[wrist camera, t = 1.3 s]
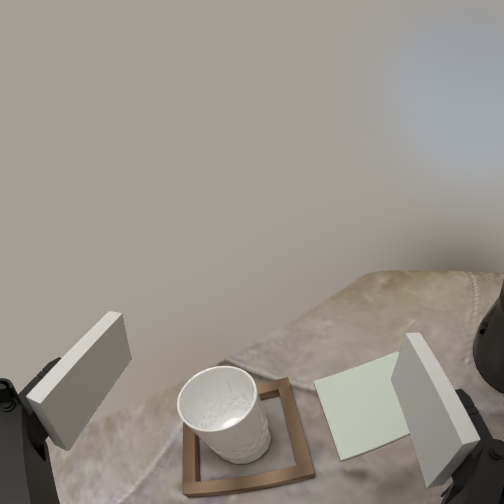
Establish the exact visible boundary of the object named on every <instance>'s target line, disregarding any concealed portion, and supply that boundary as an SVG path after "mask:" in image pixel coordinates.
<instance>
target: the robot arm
mask: <svg viewBox="0 0 504 504" xmlns="http://www.w3.org/2000/svg"><path fill="white" fill-rule="evenodd" d="M473 353H474V359H475V363H476V365H477V368H478V370H479V371H480V373H481V374H482V376H483V377H484V378H485V380H486V381H487V382H488V383H489V384H490V385H492V386H493V387H494V388H496V389H497V390H499V391H501V392H503V393H504V281H503V285H502V289H501V293H500V296H499V297H498V299H497V300H496V302H495V303H494V305H493V306H492V307H491V309H490V310H489V312H488V313H487V314H486V316H485V317H484V318H483V320H482V322H481V323H480V325H479V328H478V331H477V334H476V337H475V340H474V345H473ZM131 360H132V358H131V353H130V349H129V345H128V340H127V335H126V330H125V325H124V320H123V314H122V313H117V312H110V311H109V312H108V313H107V314H106V315H105V316H104V317H103V318H102V319H101V320H100V321H99V322H98V323H97V324H96V325H95V326H94V327H93V328H92V329H91V330H90V331H89V332H88V333H87V334H86V335H85V336H84V337H83V338H81V340H80V341H78V342H77V343H76V344H75V346H74V347H73V348H72V349H71V350H70V351H69V352H68V353H67V354H66V355H65V356H64V357H63V358H59V357H58V358H57V359H55V360H53V361H51V362H49V363H48V364H47V365H46V366H45V367H44V368H43V370H42V371H40V372H39V374H38V375H37V377H35V378H34V379H33V380H32V381H31V382H30V383H29V384H28V385H27V386H26V387H25V388H24V389H23V390H22V391H21V392H20V393H19V394H17V392H16V390H15V388H14V386H13V384H12V383H11V381H10V380H8V379H5V378H0V504H60V502H59V499H58V495H57V491H56V486H55V482H54V477H53V473H52V468H51V462H50V457H49V451H48V445H47V443H46V441H45V440H46V438H47V437H48V436H49V437H50V439H51V440H52V442H53V443H54V445H56V446H58V447H60V448H62V449H64V450H67V451H69V450H70V449H71V447H72V446H73V444H74V443H75V441H76V439H77V438H78V436H79V435H80V433H81V432H82V430H83V429H84V427H85V426H86V425H87V423H88V422H89V420H90V418H91V417H92V416H93V414H94V413H95V411H96V409H97V408H98V407H99V405H100V404H101V402H102V401H103V400H104V398H105V397H106V395H107V394H108V392H109V391H110V389H111V388H112V387H113V385H114V384H115V382H116V381H117V379H118V378H119V377H120V375H121V374H122V372H123V371H124V369H125V368H126V367H127V365H128V364H129V362H130V361H131ZM391 382H392V384H393V387H394V390H395V392H396V395H397V398H398V401H399V403H400V406H401V409H402V412H403V415H404V418H405V420H406V423H407V426H408V429H409V432H410V435H411V438H412V441H413V444H414V448H415V451H416V454H417V457H418V460H419V464H420V467H421V470H422V474H423V477H424V481H425V484H426V488H430V487H434V486H437V485H441V484H444V483H445V482H446V481H447V480H448V479H449V477H450V476H452V479H453V483H452V484H451V485H450V486H449V487H448V488H447V489H446V490H445V491H444V492H443V493H442V495H441V497H443V496H444V495H445V494H446V495H445V497H444V499H443V501H442V503H441V504H504V442H503V441H501V440H497V439H493V438H492V436H491V434H490V432H489V430H488V428H487V426H486V424H485V423H484V421H483V419H482V417H481V415H480V414H479V412H478V410H477V408H476V407H475V405H474V403H473V401H472V399H471V398H470V396H469V395H468V394H466V393H465V392H464V391H463V390H462V389H458V390H454V388H453V387H452V385H451V383H450V381H449V380H448V378H447V376H446V374H445V373H444V371H443V369H442V368H441V366H440V364H439V363H438V361H437V359H436V358H435V356H434V355H433V353H432V351H431V350H430V348H429V347H428V345H427V343H426V342H425V340H424V339H423V337H422V336H421V334H420V333H405V337H404V340H403V343H402V346H401V349H400V353H399V356H398V359H397V362H396V365H395V368H394V370H393V373H392V376H391Z"/></svg>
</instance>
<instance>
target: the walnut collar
mask: <svg viewBox="0 0 504 504" xmlns="http://www.w3.org/2000/svg"><path fill="white" fill-rule="evenodd" d="M256 387H257V390H258V393H259V396H260V399H261V400H264V399H268V398H273V397H276V396H280V397H281V401H282V405H283V410H284V414H285V418H286V422H287V426H288V430H289V435H290V439H291V443H292V447H293V451H294V455H295V459H296V464H297V465H296V466H292V467H288V468H284V469H279V470H275V471H270V472H265V473H259V474H254V475H248V476H242V477H235V478H228V479H220V480H211V481H200V457H199V437H198V436H197V435H196V434H195V433H194V432H193V431H192V430H191V429H190V428H189V427H188V426H187V424H186V423H185V422H184V421H183V494H184V495H185V496H187V497H188V498H189V497H205V496H217V495H226V494H234V493H242V492H249V491H255V490H261V489H266V488H272V487H277V486H281V485H286V484H291V483H295V482H299V481H303V480H307V479H311V478H314V477H315V474H314V470H313V466H312V463H311V459H310V455H309V452H308V448H307V444H306V441H305V437H304V433H303V430H302V426H301V423H300V419H299V415H298V412H297V408H296V404H295V401H294V397H293V394H292V390H291V386H290V383H289V379H288V377H287V378H283V379H279V380H275V381H271V382H268V383H264V384H259V385H256Z"/></svg>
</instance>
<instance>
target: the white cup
mask: <svg viewBox="0 0 504 504" xmlns="http://www.w3.org/2000/svg"><path fill="white" fill-rule="evenodd" d="M177 409H178V413H179V415H180V417H181V419H182V420H183V421H184V422H185V423H186V424H187V426H188V427H189V428H190V429H191V430H192V431H193V432H194V433H195V434H196V435H197V436H198V437H199V438H200V439H201V440H202V441H203V442H204V443H205V444H207V445H208V446H209V447H210V448H211V449H212V450H213V451H215V452H216V453H217V454H219V455H220V456H221V457H222V458H223V459H224V460H227V461H229V462H231V463H233V464H248V463H250V462H252V461H255V460H257V459H259V458H260V457H261V456H262V455H263V454H264V453H265V452H266V451H267V450H268V448H269V445H270V442H271V434H270V430H269V427H268V421H267V418H266V414H265V411H264V408H263V405H262V402H261V399H260V396H259V393H258V390H257V387H256V384H255V382H254V380H253V378H252V377H251V376H250V375H249V374H248V373H247V372H245V371H244V370H242V369H240V368H237V367H232V366H217V367H212V368H209V369H206V370H204V371H202V372H200V373H198V374H196V375H195V376H193V377H192V378H191V379H190V380H189V381H188V382H187V383H186V384H185V385H184V386H183V388H182V390H181V391H180V394H179V396H178V400H177Z"/></svg>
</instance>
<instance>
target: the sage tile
mask: <svg viewBox="0 0 504 504" xmlns="http://www.w3.org/2000/svg"><path fill="white" fill-rule="evenodd" d="M398 356H399V353H398V351H396V352H394V353H392V354H389V355H387V356H384V357H382V358H379V359H377V360H374V361H371V362H369V363H366V364H363V365H361V366H358V367H355V368H352V369H349V370H346V371H344V372H341V373H338V374H335V375H332V376H328V377H325V378H322V379H319V380H316V381H314V385H315V388H316V390H317V393H318V396H319V399H320V402H321V405H322V408H323V411H324V413H325V416H326V419H327V422H328V425H329V428H330V431H331V434H332V437H333V440H334V443H335V446H336V449H337V452H338V455H339V458H340V461H344V460H347V459H349V458H352V457H355V456H358V455H361V454H363V453H366V452H369V451H371V450H374V449H376V448H379V447H381V446H384V445H386V444H389V443H391V442H393V441H395V440H398V439H400V438H402V437H404V436H407V435H409V434H410V432H409V429H408V426H407V423H406V420H405V418H404V415H403V412H402V409H401V406H400V403H399V401H398V398H397V395H396V392H395V390H394V387H393V384H392V382H391V376H392V373H393V370H394V368H395V365H396V362H397V359H398Z"/></svg>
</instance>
